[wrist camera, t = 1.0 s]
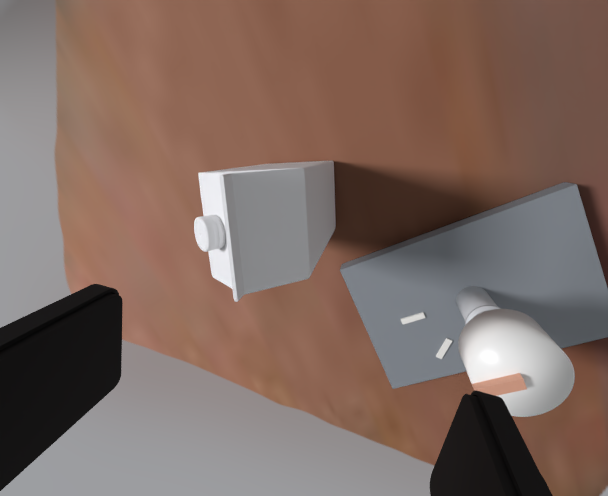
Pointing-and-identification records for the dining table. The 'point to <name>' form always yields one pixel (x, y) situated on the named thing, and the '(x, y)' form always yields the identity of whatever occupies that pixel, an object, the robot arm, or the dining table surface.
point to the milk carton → (266, 222)
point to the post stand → (481, 283)
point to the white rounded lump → (515, 362)
